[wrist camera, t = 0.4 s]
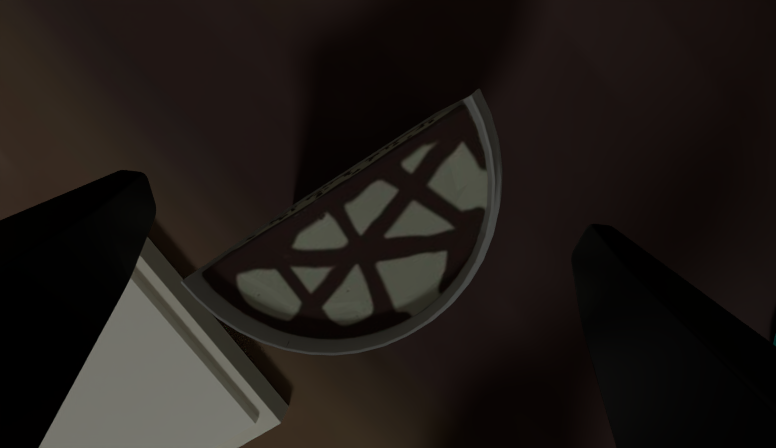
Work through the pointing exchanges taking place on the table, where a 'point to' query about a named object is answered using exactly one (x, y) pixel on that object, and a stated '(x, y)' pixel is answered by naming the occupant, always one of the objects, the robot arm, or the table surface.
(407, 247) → the food container
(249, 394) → the white square tray
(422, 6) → the table surface
